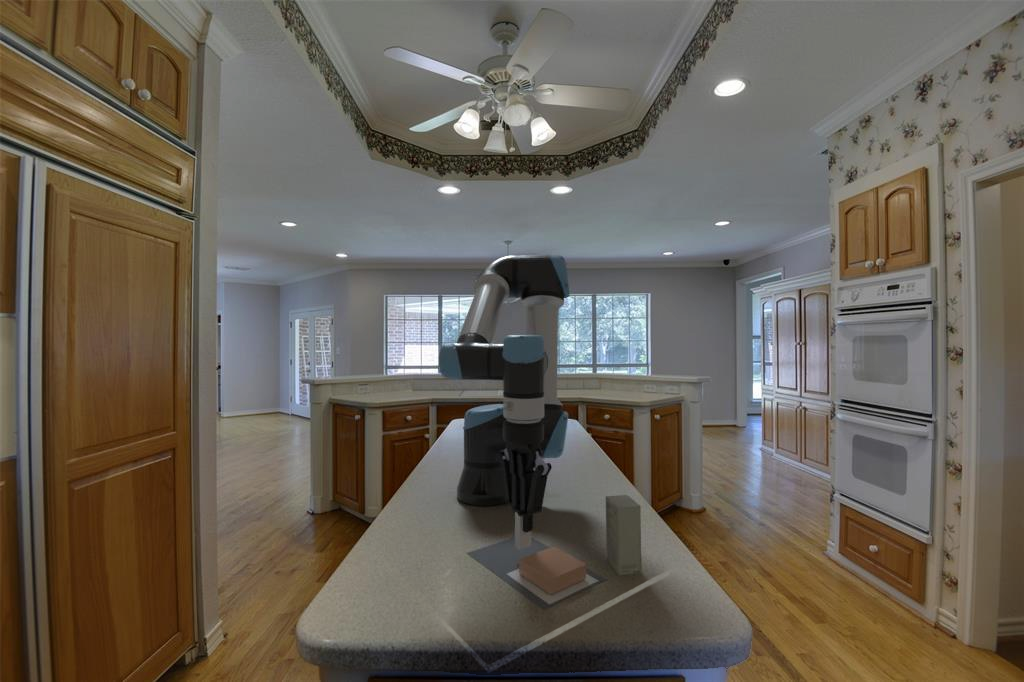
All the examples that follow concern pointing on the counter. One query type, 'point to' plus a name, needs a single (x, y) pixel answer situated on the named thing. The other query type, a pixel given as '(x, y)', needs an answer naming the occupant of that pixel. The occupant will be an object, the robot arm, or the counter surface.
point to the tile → (552, 569)
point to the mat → (506, 566)
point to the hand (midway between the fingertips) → (523, 546)
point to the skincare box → (623, 534)
